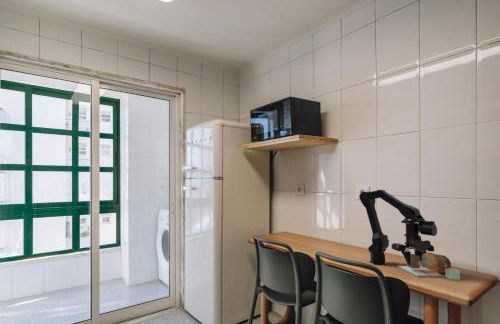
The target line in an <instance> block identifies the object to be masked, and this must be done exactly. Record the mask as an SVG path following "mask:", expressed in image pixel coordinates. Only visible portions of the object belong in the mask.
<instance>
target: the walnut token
mask: <svg viewBox="0 0 500 324" xmlns="http://www.w3.org/2000/svg"><path fill="white" fill-rule="evenodd" d="M406 266H408V267H410V268H420V266H421V262H420V259H419V256H418V255H416V254H415V253H410V265H408V264H407V263H406Z"/></svg>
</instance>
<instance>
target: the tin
mask: <svg viewBox="0 0 500 324" xmlns="http://www.w3.org/2000/svg"><path fill="white" fill-rule="evenodd" d="M426 252H427V253H425V254H423V255H422V257H421V260H420V265H421V266H423V267H425V268H427V269H430V270H432V271H434V272H436V273H439V274H445V268H452V263H451V260H450V259H449V257H447V256H445V255H443V254H438V253H434V252H431V251H426Z"/></svg>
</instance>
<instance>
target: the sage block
mask: <svg viewBox="0 0 500 324" xmlns="http://www.w3.org/2000/svg"><path fill="white" fill-rule="evenodd" d="M444 276H445V278H446V279H449V280H451V279H452V280H453V281H461V270H459V269H456V268H452V267H451V268H445V273H444ZM452 280H451V281H452Z"/></svg>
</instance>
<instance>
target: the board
mask: <svg viewBox="0 0 500 324" xmlns="http://www.w3.org/2000/svg"><path fill="white" fill-rule="evenodd" d="M397 268H399V269H401V270H402V271H404V272H406V273H408V274H410V275H412V276H415V277H416V278H425V277H431V278H433V277H434V278H436V279H437V278H446V277H445V275H443V274H442V273H440V272H436V271H433V270H430V269H427V268H425V267H423V266H422V265H420V268H410V267H408V266H407V265H397Z"/></svg>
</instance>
